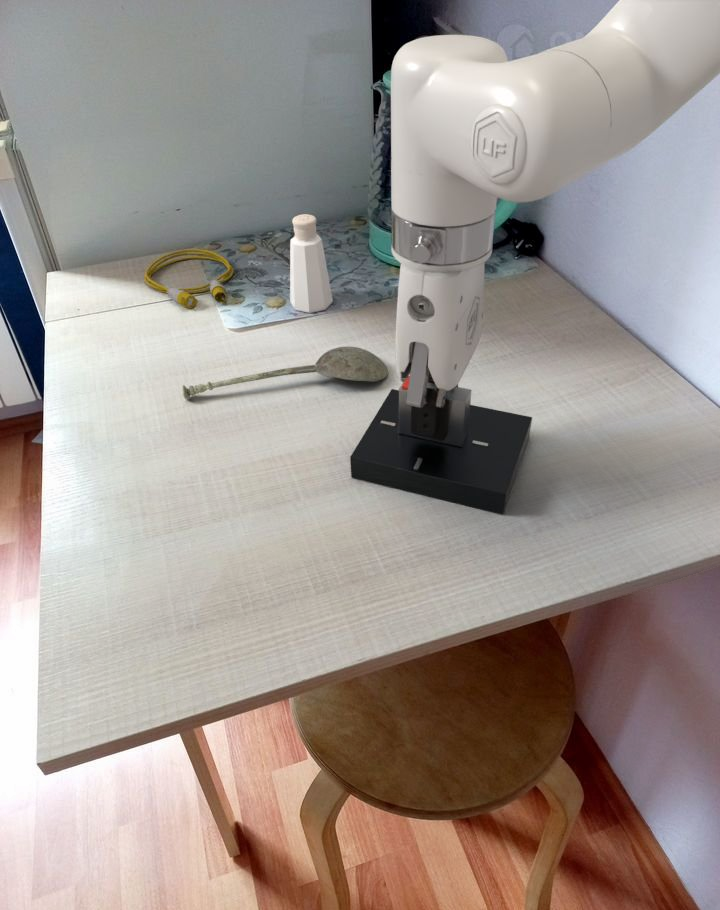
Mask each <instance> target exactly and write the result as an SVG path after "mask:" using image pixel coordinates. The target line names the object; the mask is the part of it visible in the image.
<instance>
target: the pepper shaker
mask: <svg viewBox="0 0 720 910" xmlns="http://www.w3.org/2000/svg"><path fill="white" fill-rule="evenodd" d="M291 222H292V225H293V233H294V236H293V237H292V238H290V243H289V249H290V250H289V254H290V255H289V269H290V270H289V288H290V289H289V302H290V305H291V306H292V308H293V309H294V311H298V312H302V313H307V314H312V313H317V312H318V313H319V312H322V311H325V310H326V309H328V308H329V307H330V305H331V304H333V302H334V299H333V295H332V294H333V293H332V288H331V283H330V278H329V272H328V266H327V261H326V256H325V250H324V245H323V239H322V238H321V236H320V235H319V234H318V233H317V218H316V217H315V215H312V214H307V213H303V214H299V215H298V214H297V215H296V216H294V217H293V218H292V220H291Z"/></svg>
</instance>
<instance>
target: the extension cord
mask: <svg viewBox="0 0 720 910" xmlns="http://www.w3.org/2000/svg"><path fill="white" fill-rule="evenodd" d="M184 256H186V257H184ZM178 257H179V258H178ZM174 258H176V259H174ZM171 259H173V260H171ZM198 259H199V260H210V261H215V262H219V263H222V264H223V265H224V266H225V267H226V268H227V270H226V271H225V272H224V273H222V274H221V275H219V276H218V277H216V278H214V279H212V280H209V282H207V284H204V285H200V286H195V287H184V288H177V287H172V286H171V287H165V286H164V285H161V284H160V283H158V282H156V281H154V280H153V279H152V276H153V274H155V273H156V272H158V271H159V270H160V269H162V268H164V267H167V266H169V265H172V264H175V263H177V262H178V263H179V262H181V261H185V260H198ZM169 260H170V261H169ZM234 271H235V270H234V268H233V266H232V265H231V264H230V262H229V261H228V260H227V259H226V258H225V257H224V256H222V255H220V254H218V253H216V252H214V251H210V250H206V249H197V248H188V249H181V250H176V251H172V252H169V253H167V254H164V255H161V256H160V257H159V258H156V259H155V260H153V262H151V263H150V265H149V266H148V267H147V268H146V269H145V273H144V282H145V283H146V285H148V286H149V287H150V288H152V289H154V290H156V291H158V292H160V293H163V294H167V295H168V296H169V297H170V298H171V299H172V300H173V301H174V302H175V304H178V305H180V306H182V307H184V308H186V309H189V310H190V309H191V310H192V309H193V308H194V307H195V306H197V303H198V299H197V298H196V297H195V295H192V294H200V293H206V292H208V291H210V294H211V297H212V298H213V299H214V301H215V302H216V303H218V304H223V303H224V302H227V294H226V288H225V285H224V284H223V283H225V282H227V281H229V280H230V279H231V278H232V277H233V275H234V274H235V273H234Z"/></svg>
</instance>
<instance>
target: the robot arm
mask: <svg viewBox="0 0 720 910" xmlns="http://www.w3.org/2000/svg"><path fill="white" fill-rule="evenodd" d="M390 69H391V70H390V148H391V149H390V156H391V157H390V169H391V170H390V190H391V191H390V192H391V193H390V194H391V196H390V197H391V198H390V199H391V201H390V202H391V203H390V204H391V209H390V212H391V215H390V216H391V217H390V218H391V219H390V220H391V222H390V223H391V224H390V225H391V227H390V229H391V230H390V231H391V233H390V236H391V238H390V239H391V247H390V248H391V250H390V251H391V254H392V256H393V258H394V259H395V260H396V261H397V262H398V263H400V267H399V276H398V288H397V299H396V301H397V302H396V316H395V317H396V318H395V341H394V342H395V343H394V344H395V347H394V348H395V350H394V351H395V353H394V354H395V355H394V356H395V358H394V359H395V372H396V377H397V378H398V380H400V382H402V383H403V382H404V381H405V380H406V379H407V378H408V376H410V379H409V386H408V393H407V400H406V405H408V406H411V433H412V434H414V435H417V436H422V437H426V438H431V439H435V440H440V441H444V440H445V438H446V436H447V427H448V410H449V402H446V401H445V398H446V391H450V390H452V389H453V388H454V387H459V383H460V381H461V379H462V378H463V376H464V374H465V372H466V369H467V368H468V366H469V364H470V362H471V360H472V357H473V355H474V353H475V351H476V349H477V347H478V345H479V343H480V340H481V337H482V331H483V319H484V318H483V316H484V298H485V297H484V295H485V272H486V271H485V270H486V269H485V267H486V265H485V263H486V262H487V261H488V260H489V259H490V258H491V256H492V253H493V247H494V246H493V244H494V243H493V242H494V233H495V221H496V212H497V203H498V202H497V201H498V199H500V200H503V201H507V202H512V203H531V202H535V201H539V200H542V199H544V198H547V197H549V196H551V195H553V194H555V193H557V192H558V191H560V190H562V189H564V188H566V187H568V186H569V185H571V184H573V183H575V182H577V181H578V180H580V179H582V178H583V177H585V176H586V175H588V174H590V173H592V172H593V171H595V170H597V169H599V168H601V167H603V166H605V165H606V164H608V163H610V162H613V161H614V160H616V159H618V158H620V157H622V156H623V155H625V154H627V153H628V152H630V151H631V150H632V149H634V148H635V147H637V146H638V145H639V144H640V143H642V142H643V141H645V139H646V138H648V137H649V136H650V135H651V134H653V133H654V132H655V131H656V130H658V128H660V127H661V126H662V125H663V124H664V123H665V122H666V121H668V120H669V119H670V118H671V117H672V116H674V115H675V114H676V113H677V112H678V111H679V110H680V109H682V107H684V105H686V104H687V103H688V102H689V101H690V100H691V99H693V98H694V97H695V96H696V95H697V94H698V93H699V92H700V91H702V90H703V89H704V88H705V87H707V86H708V85H709V84H710V83H711V82H712V81H713V80H714V79H715V78H717V76H719V75H720V0H618V1H617V2H616V3H615V4H614V5H613V6H612V8H611V9H610V10H609V11H608V12H607V13H606V14H605V15H604V16H603V18H602V19H601V20H600V21H599V22H598V23H597V24H596V25H595V26H594V27H593V28H592V29H591V31H589V32H588V33H587V34H585V36H584V37H582V38H579V39H575V40H572V41H569V42H565V43H563V44H559V45H557V46H555V47H551V48H548V49H546V50H542V51H540V52H538V53H536V54H532V55H528V56H525V57H521V58H517V59H512V60H509V59H508V56H507V54H506V52H505V50H504V48H503V47H502V46H501V45H500V44H499V43H498V42H496V41H494V40H491V39H489V38H486V37H482V36H477V35H468V34H467V35H466V34H440V35H431V36H424V37H420V38H416V39H414V40H411V41H409V42H407V43H405V44H403V45H402V46H401V47H400V48H399V49H398V51H397V52H396V54H395V55H394V57H393V60H392V64H391V67H390ZM427 383H433V384H435V385H436V386H437V388H436V390H435V389H432V388H427Z"/></svg>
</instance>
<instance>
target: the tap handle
mask: <svg viewBox="0 0 720 910" xmlns="http://www.w3.org/2000/svg"><path fill="white" fill-rule="evenodd" d="M409 379H410V375H409V376H408V378H407V379H406V380H405V381H404V382H402V383H401V384H400V386H399V388H398V390H399V433H400V434H404V435H409V436H413V437H418V438H422V439H427V440H431V441H436V442H441V443H445V444H450V445H454V446H459V447H462V446H463V444H464V442H465V439H466V437H467V435H468V426H469V415H470V405H471V403H472V402H471V401H472V389H470V388H467V387H466V388H465V387H461V386H458V387H454V388H453V389H452V390H450V391H446V398H445V401H446V402H449V410H448V427H447V436H446V438H445V440H444V441H440V440H435V439H431V438H426V437H422V436H417V435H414V434H412V433H411V406H408V405H406V400H407V393H408V386H409ZM427 388H432V389H435V390H436V388H437V386H436V385H435V384H433V383H427Z"/></svg>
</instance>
